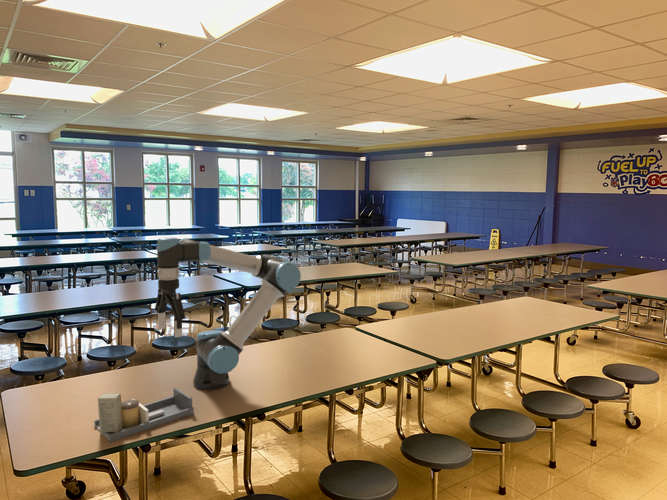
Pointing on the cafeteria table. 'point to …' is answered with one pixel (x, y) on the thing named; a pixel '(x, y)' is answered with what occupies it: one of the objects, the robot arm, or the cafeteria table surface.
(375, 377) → the cafeteria table surface
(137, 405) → the jar
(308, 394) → the cafeteria table surface
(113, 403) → the skincare box
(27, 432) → the cafeteria table surface
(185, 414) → the lane
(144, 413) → the pusher
